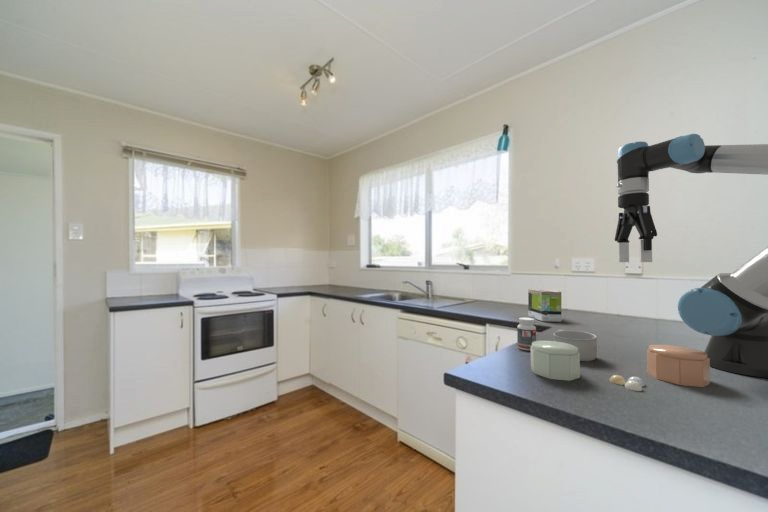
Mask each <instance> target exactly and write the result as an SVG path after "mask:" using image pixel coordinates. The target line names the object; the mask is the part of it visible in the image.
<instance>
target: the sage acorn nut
mask: <svg viewBox="0 0 768 512" xmlns="http://www.w3.org/2000/svg"><path fill="white" fill-rule="evenodd" d="M580 362H581V361H580V354H579V353H578V348H577V347H576V346H574V345H571V344H567V343H562V342H556V341H554V340H536V341H534V342H532V346H531V351H530V369H531V371H532V374H534V375H537V376H541V377H543V378H546V379H549V380H550V379H551V380H558V381H568V382H569V381H573V380H577V379H580V378H581V363H580Z"/></svg>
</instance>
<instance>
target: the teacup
mask: <svg viewBox="0 0 768 512" xmlns="http://www.w3.org/2000/svg"><path fill="white" fill-rule="evenodd" d="M552 335H553V341H556V342H562V343H567V344H571V345H574V346H576V347H577V348H578V353H579V354H580V362H592V361H594V360H596V358H597V355H598V341H597V339H598V336H597V335H596V334H593V333H591V332H588V331H580V330H564V329H557V331H555V332H553V334H552Z"/></svg>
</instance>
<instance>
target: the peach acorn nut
mask: <svg viewBox="0 0 768 512" xmlns="http://www.w3.org/2000/svg"><path fill="white" fill-rule="evenodd" d="M646 373H647V374H648V375H650V376H651V377H653V378H654V379H657V380H660V381H664V382H666V383H667V382H668V383H671V384H675V385H677V386H678V385H679V386H686V387H687V386H689V387H699V388H704V387H707V386H709V385H710V384H711V366H710V359H709V358H707V353H705V352H704V351H702V350H699V349H696V348H692V347H687V346H681V345H675V344H674V345H673V344H660V343H659V344H649V345H648V349H647V350H646Z"/></svg>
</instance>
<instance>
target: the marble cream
mask: <svg viewBox="0 0 768 512" xmlns="http://www.w3.org/2000/svg"><path fill="white" fill-rule="evenodd" d="M627 381H628V380H627ZM627 381H626V383H625V385H624V388H625V389H627V390H630V391H635V392H642V391H643V387H642V386H641V385H640V384H639V383H638V382H636V381H628V382H627Z"/></svg>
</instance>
